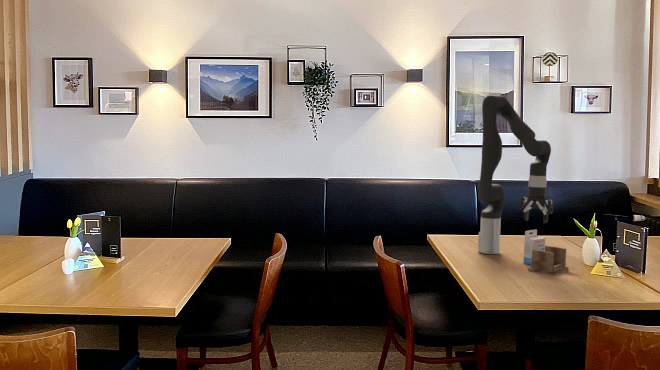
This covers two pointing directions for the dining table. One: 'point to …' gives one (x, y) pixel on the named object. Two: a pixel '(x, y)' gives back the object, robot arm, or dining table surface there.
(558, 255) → the holder
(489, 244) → the robot arm
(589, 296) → the dining table surface
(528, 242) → the ink box
